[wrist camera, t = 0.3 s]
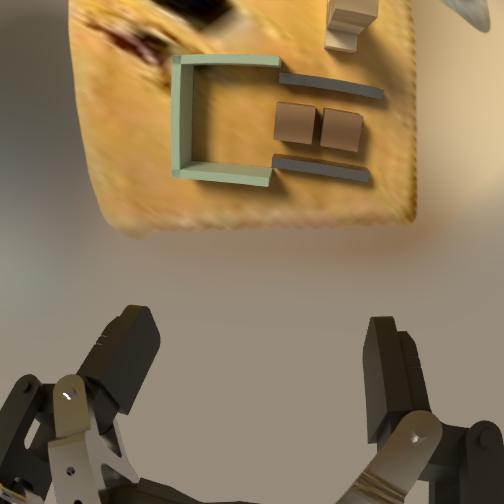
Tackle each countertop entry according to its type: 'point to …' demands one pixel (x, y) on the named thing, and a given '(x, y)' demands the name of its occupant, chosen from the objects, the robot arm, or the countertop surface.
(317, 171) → the rail slot
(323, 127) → the walnut chip
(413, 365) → the robot arm
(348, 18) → the birch scraper
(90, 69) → the countertop surface
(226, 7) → the countertop surface
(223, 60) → the tray
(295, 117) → the brown block
